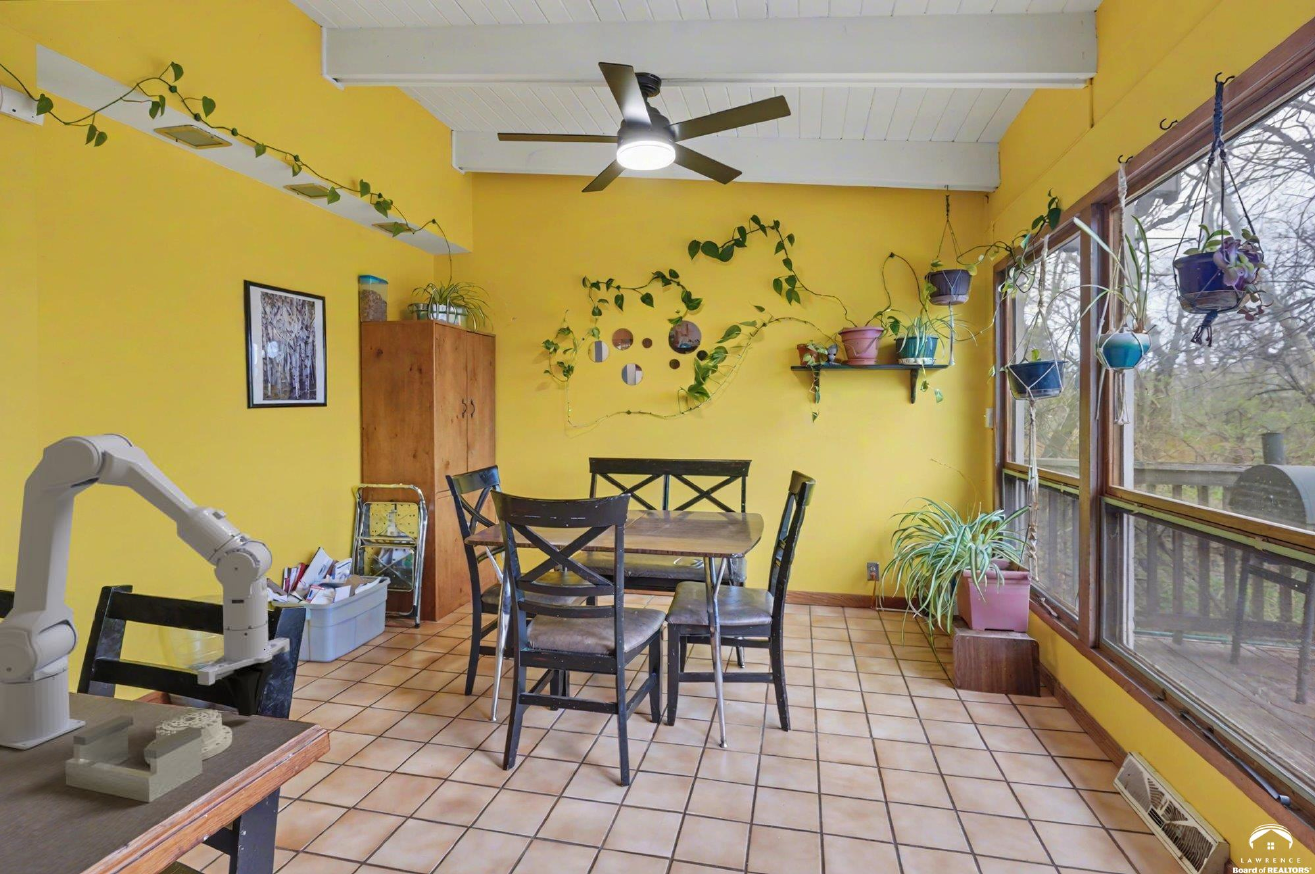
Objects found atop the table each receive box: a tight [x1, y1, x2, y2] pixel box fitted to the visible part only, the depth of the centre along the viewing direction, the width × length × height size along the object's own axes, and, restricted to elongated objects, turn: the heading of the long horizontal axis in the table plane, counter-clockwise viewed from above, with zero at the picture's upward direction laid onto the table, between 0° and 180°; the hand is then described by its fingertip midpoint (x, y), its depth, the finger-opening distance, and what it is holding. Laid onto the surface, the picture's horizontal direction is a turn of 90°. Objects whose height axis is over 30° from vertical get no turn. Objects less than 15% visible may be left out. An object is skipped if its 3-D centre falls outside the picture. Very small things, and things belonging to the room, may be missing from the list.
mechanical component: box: [144, 708, 233, 765], centre depth 96 cm, size 10×4×10 cm
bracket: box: [64, 715, 203, 803], centre depth 88 cm, size 14×7×6 cm, turn 74°
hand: (247, 713), depth 104 cm, fingers closed
